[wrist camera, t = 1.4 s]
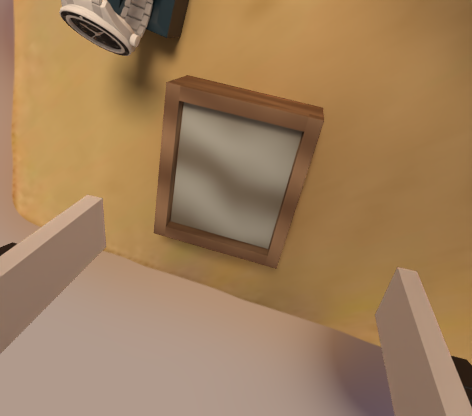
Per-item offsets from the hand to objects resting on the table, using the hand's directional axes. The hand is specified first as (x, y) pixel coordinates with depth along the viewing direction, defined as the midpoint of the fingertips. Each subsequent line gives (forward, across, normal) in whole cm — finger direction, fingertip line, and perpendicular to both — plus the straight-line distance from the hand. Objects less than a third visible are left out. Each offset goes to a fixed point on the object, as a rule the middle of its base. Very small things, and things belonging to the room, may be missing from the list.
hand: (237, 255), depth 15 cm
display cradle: (+20, -4, -4) cm, 21 cm away
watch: (+20, -13, +10) cm, 26 cm away
